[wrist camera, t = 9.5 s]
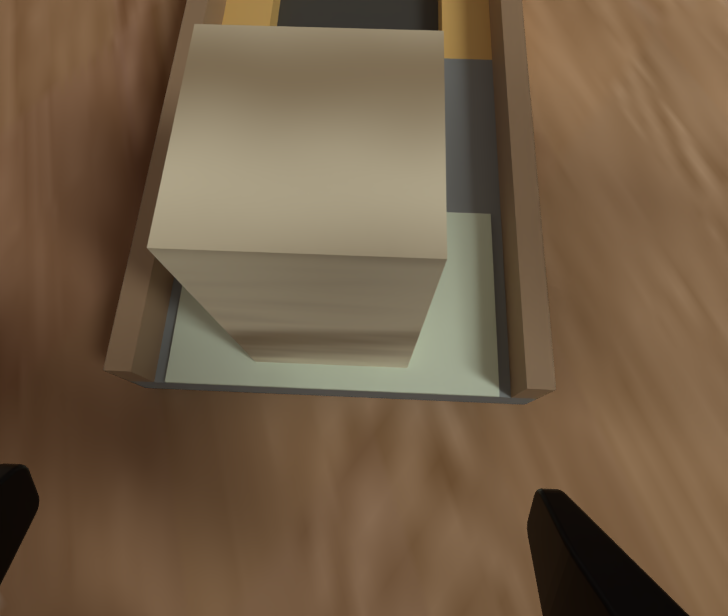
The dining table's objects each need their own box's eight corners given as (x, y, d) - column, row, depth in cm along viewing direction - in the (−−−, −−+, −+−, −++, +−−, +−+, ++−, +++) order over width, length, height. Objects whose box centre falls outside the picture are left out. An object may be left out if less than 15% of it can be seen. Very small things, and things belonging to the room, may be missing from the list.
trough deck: (525, 404, 20) (555, 389, 17) (145, 387, 20) (103, 370, 17) (495, -48, 29) (511, -115, 26) (231, -55, 29) (214, -122, 26)
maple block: (407, 368, 19) (447, 258, 10) (255, 361, 19) (146, 247, 10) (409, 231, 21) (443, 31, 12) (271, 227, 21) (194, 24, 12)
